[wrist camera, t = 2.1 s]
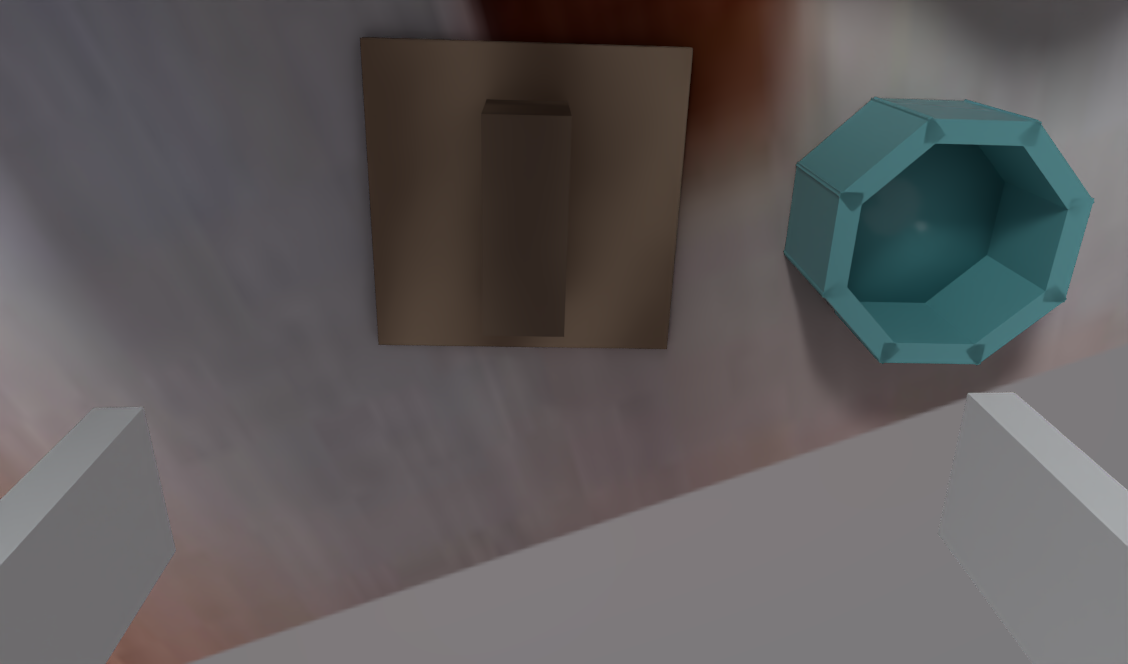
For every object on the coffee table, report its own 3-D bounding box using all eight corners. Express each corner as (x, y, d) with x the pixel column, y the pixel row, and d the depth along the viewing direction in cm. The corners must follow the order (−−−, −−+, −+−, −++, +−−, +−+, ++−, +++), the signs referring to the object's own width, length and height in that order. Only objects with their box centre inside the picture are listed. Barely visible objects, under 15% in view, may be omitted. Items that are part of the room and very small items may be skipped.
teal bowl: (774, 312, 35) (810, 362, 31) (805, 94, 32) (851, 114, 27) (981, 316, 36) (1047, 366, 31) (1033, 101, 32) (1117, 122, 28)
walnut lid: (383, 333, 36) (362, 382, 31) (366, 36, 31) (339, 46, 27) (662, 337, 36) (680, 386, 32) (687, 45, 31) (712, 57, 27)
